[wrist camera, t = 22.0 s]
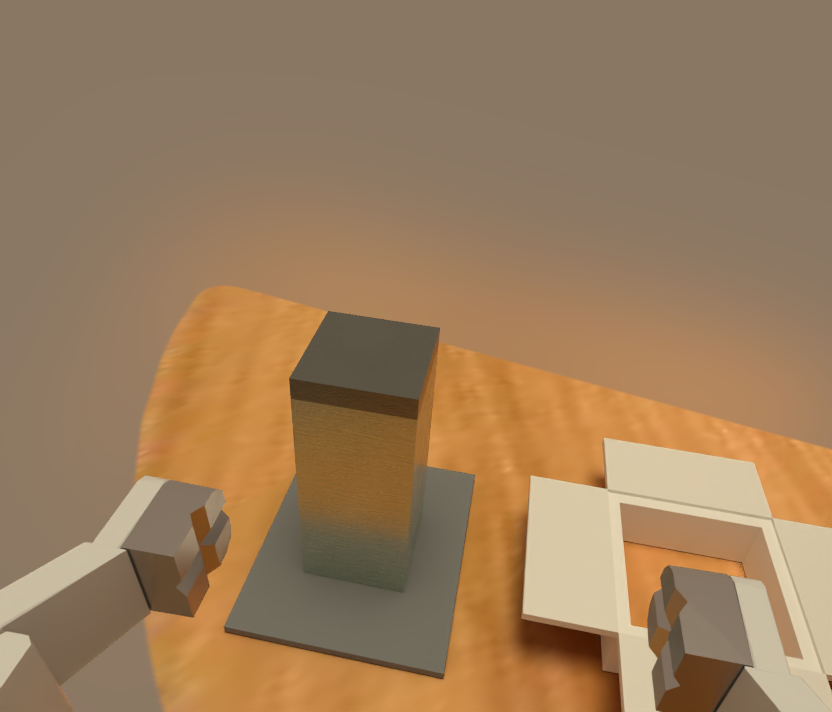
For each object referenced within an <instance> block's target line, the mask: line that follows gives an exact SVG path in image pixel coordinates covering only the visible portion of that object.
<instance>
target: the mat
mask: <svg viewBox="0 0 832 712" xmlns="http://www.w3.org/2000/svg"><path fill="white" fill-rule="evenodd" d="M474 477H475V475H473V474H467V473H462V472H456V471H450V470H445V469H439V468H433V467H428V466H427V471H426V481H425V492H424V502H423V513H422V518H421V522H420V526H419V530H418V535H417V539H416V543H415V548H414V552H413V556H412V560H411V565H410V569H409V573H408V578H407V582H406V586H405V591H404V593H400V592H396V591H391V590H386V589H381V588H376V587H371V586H366V585H361V584H356V583H351V582H346V581H341V580H336V579H331V578H326V577H321V576H316V575H311V574H306V573H303V560H302V546H301V532H300V518H299V504H298V491H297V477H296V475H295V477H294V479H293V481H292V483H291V485H290V487H289V490H288V492H287V494H286V496H285V498H284V500H283V502H282V504H281V507H280V509H279V511H278V513H277V515H276V517H275V519H274V521H273V524H272V526H271V528H270V530H269V532H268V534H267V536H266V538H265V541H264V543H263V545H262V547H261V549H260V551H259V553H258V556H257V558H256V560H255V562H254V564H253V566H252V568H251V570H250V573H249V575H248V577H247V579H246V581H245V583H244V585H243V587H242V590H241V592H240V594H239V596H238V598H237V600H236V602H235V604H234V607H233V609H232V611H231V613H230V615H229V617H228V619H227V622H226V624H225V626H224V629H225V632H229V633H233V634H238V635H243V636H247V637H252V638H257V639H261V640H266V641H270V642H275V643H280V644H284V645H289V646H294V647H298V648H303V649H308V650H312V651H317V652H322V653H326V654H331V655H335V656H340V657H345V658H349V659H354V660H359V661H363V662H368V663H373V664H377V665H382V666H386V667H391V668H396V669H400V670H405V671H410V672H414V673H419V674H424V675H428V676H433V677H437V678H442V679H443V676H444V670H445V664H446V657H447V651H448V644H449V638H450V632H451V625H452V619H453V612H454V606H455V599H456V593H457V587H458V580H459V574H460V567H461V561H462V554H463V548H464V542H465V535H466V529H467V522H468V516H469V509H470V503H471V497H472V490H473V484H474Z"/></svg>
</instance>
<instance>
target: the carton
mask: <svg viewBox="0 0 832 712" xmlns="http://www.w3.org/2000/svg"><path fill="white" fill-rule="evenodd" d="M602 444H603V458H604V472H605V486H606V489H605V488H599V487H593V486H587V485H582V484H576V483H570V482H565V481H559V480H553V479H547V478H542V477H536V476H531V477H530V483H529V500H528V517H527V534H526V551H525V567H524V584H523V601H522V618H521V619H525V620H530V621H535V622H540V623H545V624H550V625H555V626H560V627H565V628H570V629H575V630H580V631H584V632H589V633H594V634H599V635H601V652H602V670H603V671H608V672H613V673H618V674H619V682H620V696H621V710H622V712H660V711H656V708H655V699H654V690H653V681H652V669H653V667H654V665H655V663H656V661H657V657H656V656H655V654H654V653H653V652H652V650H651V649H650V648H649V643H648V629H647V628H642V627H637V626H632V625H631V621H630V610H629V600H628V589H627V578H626V567H625V557H624V546H623V541H628V542H634V543H639V544H644V545H650V546H655V547H661V548H666V549H672V550H677V551H682V552H688V553H693V554H699V555H704V556H710V557H715V558H721V559H726V560H731V561H737V562H742V564H743V568H744V572H745V575H746V578H747V579H754V580H759V581H761V582H762V583H763V584H764V586H765V587H766V590H767V593H768V597H769V600H770V604H771V607H772V611H773V614H774V618H775V621H776V625H777V628H778V631H779V635H780V638H781V642H782V645H783V649H784V652H785V656H786V659H787V663H788V666H789V670H790V673H791V675H794V676H798V677H801V678H802V679H803V680H804V681H805V682H806V684H807V685H808V686H809V687H810V688H811V689H812V690H813V691H814V693H815V694H816V695H817V696H818V697H819V698H820V699H821V700H822V702H823V703H824V704H825V705H826V706H827V707H828V708H829V709H830V711H831V712H832V691H831V688H830V685H829V682H828V681H832V528H827V527H821V526H816V525H810V524H804V523H799V522H793V521H787V520H781V519H776V518H773V517H772V514H771V512H770V509H769V506H768V503H767V500H766V497H765V494H764V491H763V488H762V485H761V482H760V479H759V476H758V473H757V470H756V467H755V464H754V463H753V462H747V461H741V460H735V459H729V458H723V457H717V456H711V455H705V454H699V453H693V452H687V451H681V450H675V449H669V448H663V447H657V446H651V445H644V444H638V443H632V442H626V441H620V440H614V439H608V438H604V439H603V443H602Z"/></svg>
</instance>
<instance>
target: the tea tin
mask: <svg viewBox="0 0 832 712" xmlns="http://www.w3.org/2000/svg"><path fill="white" fill-rule="evenodd" d="M439 333H440V328H437V327H430V326H423V325H417V324H410V323H403V322H397V321H390V320H384V319H377V318H370V317H364V316H357V315H351V314H344V313H337V312H331V311H328V313H327V314H326V316H325V318H324V319H323V321H322V323H321V325H320V326H319V328H318V330H317V331H316V333H315V335H314V337H313V338H312V340H311V342H310V344H309V345H308V347H307V349H306V350H305V352H304V354H303V356H302V357H301V359H300V361H299V363H298V364H297V366H296V368H295V369H294V371H293V373H292V375H291V376H290V378H289V381H290V394H291V408H292V422H293V436H294V449H295V463H296V477H297V491H298V504H299V518H300V532H301V546H302V560H303V573H306V574H311V575H316V576H321V577H326V578H331V579H336V580H341V581H346V582H351V583H356V584H361V585H366V586H371V587H376V588H381V589H386V590H391V591H396V592H400V593H404V591H405V586H406V582H407V578H408V573H409V569H410V565H411V560H412V556H413V552H414V548H415V543H416V539H417V535H418V530H419V526H420V522H421V518H422V513H423V502H424V492H425V481H426V471H427V460H428V450H429V439H430V428H431V418H432V407H433V397H434V386H435V376H436V365H437V355H438V344H439Z"/></svg>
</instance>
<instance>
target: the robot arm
mask: <svg viewBox="0 0 832 712" xmlns="http://www.w3.org/2000/svg"><path fill="white" fill-rule="evenodd" d="M225 502H226V501H225V498H224V494H223V491H222V490H219V489H213V488H208V487H203V486H198V485H193V484H188V483H183V482H178V481H173V480H168V479H162V478H157V477H151V476H144V477H143V478H141V479H140V480H138V481H137V482H136V484H135V485H134V486H133V488H132V489H131V491H130V492H129V493H128V495H127V496H126V497H125V499H124V500H123V501H122V503H121V504H120V506H119V507H118V508H117V510H116V511H115V512H114V514H113V515H112V516H111V518H110V519H109V521H108V522H107V523H106V525H105V526H104V527H103V529H102V530H101V532H100V533H99V534H98V536H97V537H96V539H95V540H94V541H93V543H88V542H84V543H82V544H81V545H79V546H77V547H75V548H73V549H72V550H70V551H68V552H66V553H65V554H63V555H61V556H60V557H58V558H56V559H54V560H52V561H51V562H49V563H47V564H46V565H44V566H42V567H40V568H38V569H37V570H35V571H33V572H31V573H30V574H28V575H26V576H24V577H23V578H21V579H19V580H17V581H15V582H14V583H12V584H10V585H8V586H7V587H5V588H3V589H2V590H0V712H73V708H72V705H71V703H70V702H69V700H68V699H67V697H66V695H65V694H64V692H63V690H62V689H61V687H60V686H61V685H62V684H63V683H64V682H65V681H67V680H68V679H69V678H71V677H72V676H73V675H74V674H76V673H77V672H78V671H79V670H80V669H82V668H83V667H84V666H85V665H87V664H88V663H89V662H90V661H92V660H93V659H94V658H95V657H97V656H98V655H99V654H100V653H102V652H103V651H104V650H105V649H106V648H108V647H109V646H110V645H111V644H113V643H114V642H115V641H116V640H118V639H119V638H120V637H121V636H122V635H124V634H125V633H126V632H128V631H129V630H130V629H131V628H132V627H134V626H135V625H136V624H137V623H139V622H140V621H141V620H142V619H144V618H145V617H146V616H147V615H149V614H150V610H152V611H158V612H164V613H170V614H176V615H182V616H187V617H194V615H195V613H196V611H197V610H198V608H199V606H200V604H201V602H202V600H203V598H204V596H205V594H206V592H207V590H208V588H209V581H208V577H207V574H209V573H210V572H212V571H213V570H215V569H216V568H218V567H219V566H220V565H221V563H222V561H223V559H224V557H225V555H226V553H227V549H228V545H229V542H230V538H231V524H230V519H229V517H228V516H227V515H226V514H225V513H224V512H223V511H222V508H223V506H224V504H225ZM660 578H661V586H662V589H661V590H659V591H657V592H655V593H654V594H653V597H652V600H651V602H650V606H649V613H648V643H649V648H650V649H651V650H652V652H653V653H654V654H655V656H656V657H657V661H656V663H655V665H654V667H653V669H652V681H653V690H654V699H655V708H656V711H660V712H831V711H830V709H829V708H828V707H827V706H826V705H825V704H824V703H823V702H822V700H821V699H820V698H819V697H818V696H817V695H816V694H815V693H814V691H813V690H812V689H811V688H810V687H809V686H808V685H807V684H806V682H805V681H804V680H803V679H802V678H801V677H798V676H794V675H791V673H790V670H789V666H788V663H787V659H786V656H785V652H784V649H783V645H782V642H781V638H780V635H779V631H778V628H777V625H776V621H775V618H774V614H773V611H772V607H771V604H770V600H769V597H768V593H767V590H766V587H765V586H764V584H763V583H762V582H761V581H759V580H754V579H747V578H741V577H735V576H728V575H727V574H722V573H715V572H709V571H702V570H696V569H690V568H683V567H677V566H670V565H668V566H667V567H666V568H664V570H663V573H662V575H661V577H660Z"/></svg>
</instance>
